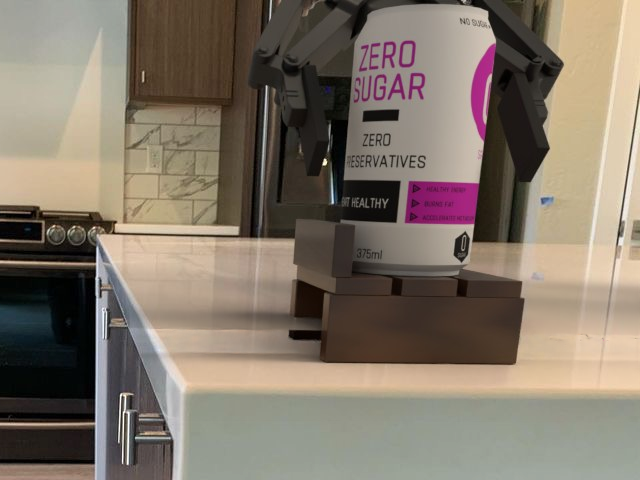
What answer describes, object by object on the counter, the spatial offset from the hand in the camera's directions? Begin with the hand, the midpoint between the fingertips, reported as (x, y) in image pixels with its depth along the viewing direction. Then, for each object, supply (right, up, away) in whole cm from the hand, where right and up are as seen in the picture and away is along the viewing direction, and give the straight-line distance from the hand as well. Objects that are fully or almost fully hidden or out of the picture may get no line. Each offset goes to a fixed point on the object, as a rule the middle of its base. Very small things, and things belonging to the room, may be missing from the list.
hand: (427, 162), depth 57 cm
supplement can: (0, -6, +4) cm, 7 cm away
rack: (-1, -10, +6) cm, 12 cm away
